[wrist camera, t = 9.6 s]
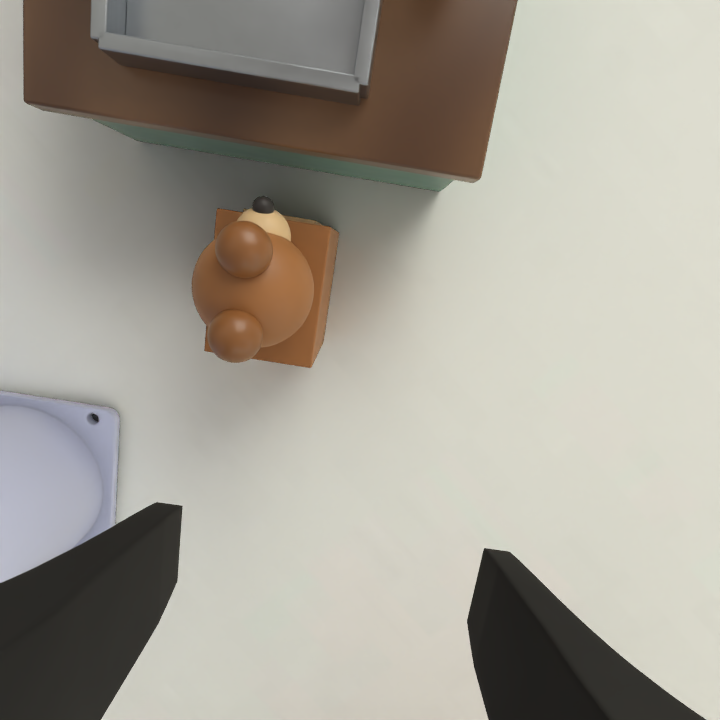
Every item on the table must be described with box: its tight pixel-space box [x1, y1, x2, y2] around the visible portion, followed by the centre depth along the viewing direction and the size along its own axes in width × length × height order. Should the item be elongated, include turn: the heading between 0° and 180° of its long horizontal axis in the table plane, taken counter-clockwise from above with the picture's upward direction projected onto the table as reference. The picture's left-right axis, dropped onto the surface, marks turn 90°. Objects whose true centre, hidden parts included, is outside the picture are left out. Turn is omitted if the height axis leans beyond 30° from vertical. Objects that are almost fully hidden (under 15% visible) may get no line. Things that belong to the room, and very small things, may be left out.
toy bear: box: [192, 196, 339, 368], centre depth 15 cm, size 4×5×8 cm
